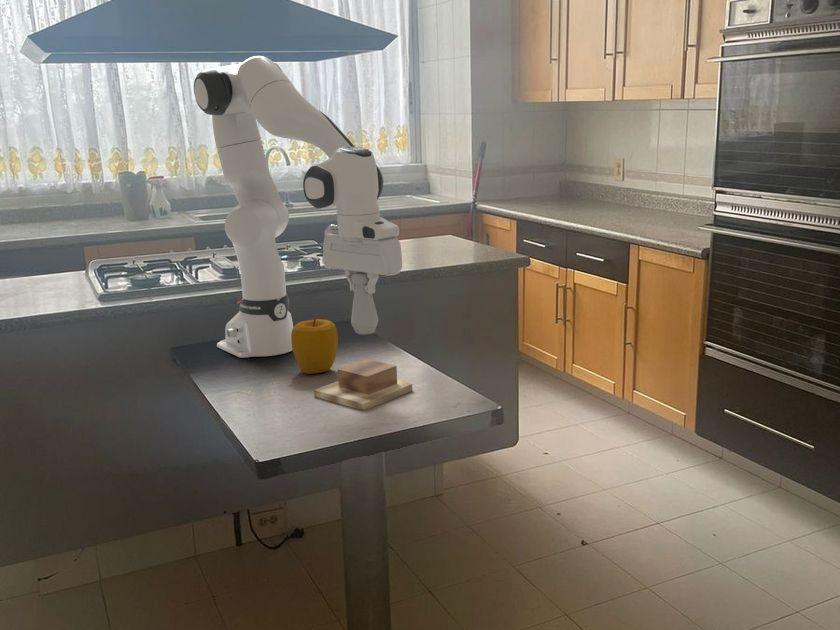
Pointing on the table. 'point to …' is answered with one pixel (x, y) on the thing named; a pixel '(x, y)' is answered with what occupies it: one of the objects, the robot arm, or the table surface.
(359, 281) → the salt shaker
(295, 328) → the apple
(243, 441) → the table surface
